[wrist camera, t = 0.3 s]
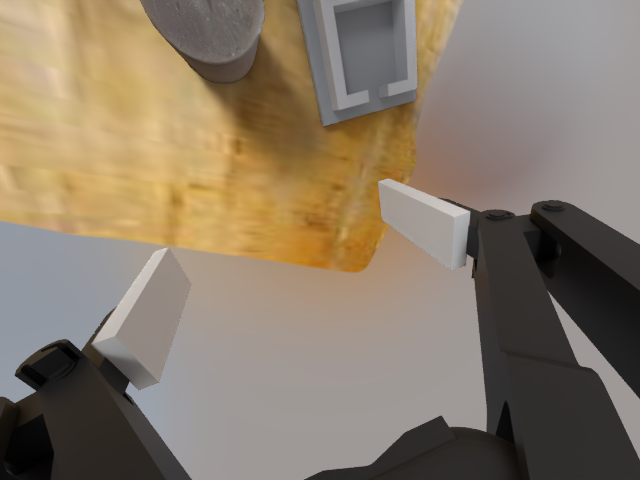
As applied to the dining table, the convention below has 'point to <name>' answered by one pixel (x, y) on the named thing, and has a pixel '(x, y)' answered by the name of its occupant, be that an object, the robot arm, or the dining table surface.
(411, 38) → the pocket board
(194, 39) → the pillar candle
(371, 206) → the dining table surface
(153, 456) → the robot arm
